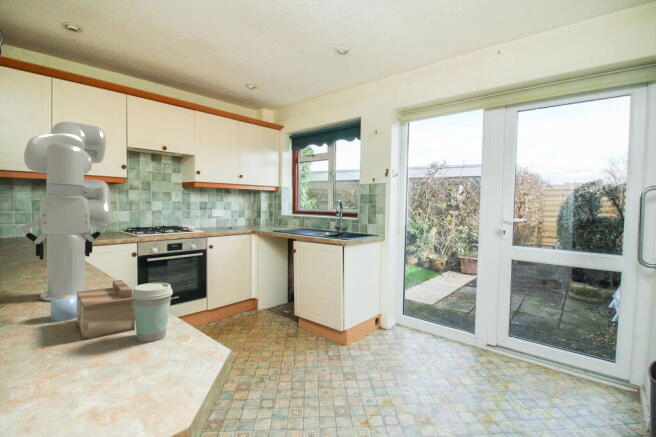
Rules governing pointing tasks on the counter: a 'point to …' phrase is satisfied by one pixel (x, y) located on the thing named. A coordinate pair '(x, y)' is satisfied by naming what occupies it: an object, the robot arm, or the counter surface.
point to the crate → (105, 320)
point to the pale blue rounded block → (63, 308)
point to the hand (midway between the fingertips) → (65, 257)
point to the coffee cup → (151, 310)
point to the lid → (106, 296)
